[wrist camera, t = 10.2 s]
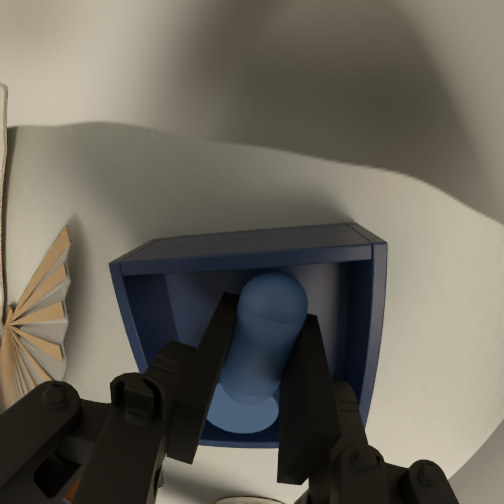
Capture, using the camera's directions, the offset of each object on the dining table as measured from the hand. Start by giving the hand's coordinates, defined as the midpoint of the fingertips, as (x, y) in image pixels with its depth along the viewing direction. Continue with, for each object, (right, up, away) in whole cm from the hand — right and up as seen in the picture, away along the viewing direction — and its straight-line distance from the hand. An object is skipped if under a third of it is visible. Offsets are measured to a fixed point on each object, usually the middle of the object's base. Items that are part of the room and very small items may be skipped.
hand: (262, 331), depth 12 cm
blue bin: (0, -1, +3) cm, 3 cm away
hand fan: (-22, -2, +6) cm, 23 cm away
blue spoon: (0, -2, +1) cm, 2 cm away
